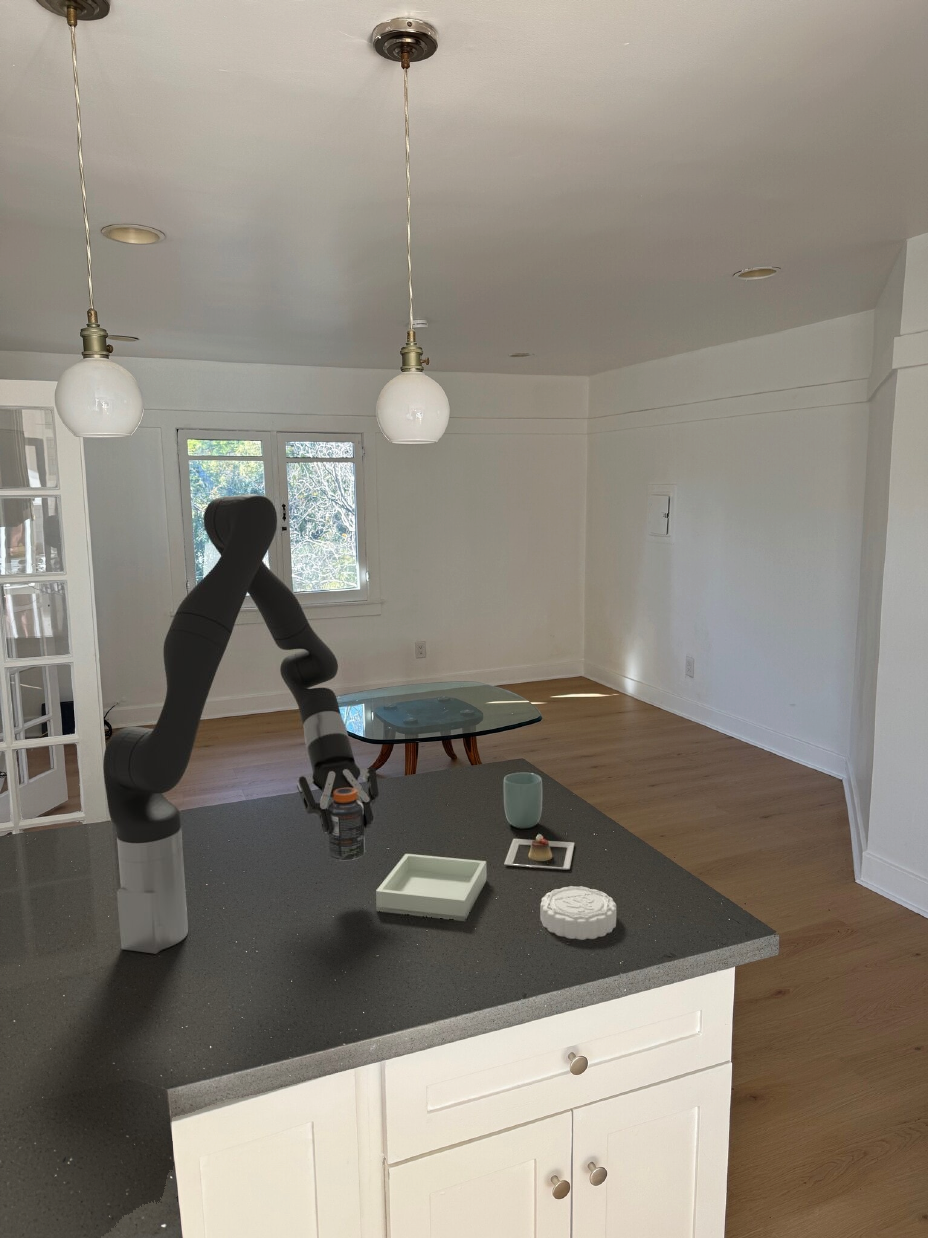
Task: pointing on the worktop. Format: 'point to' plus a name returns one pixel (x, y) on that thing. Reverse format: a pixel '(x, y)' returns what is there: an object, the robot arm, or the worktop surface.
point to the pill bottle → (346, 825)
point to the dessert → (540, 851)
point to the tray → (432, 887)
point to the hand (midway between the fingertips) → (349, 829)
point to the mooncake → (578, 912)
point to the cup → (523, 799)
